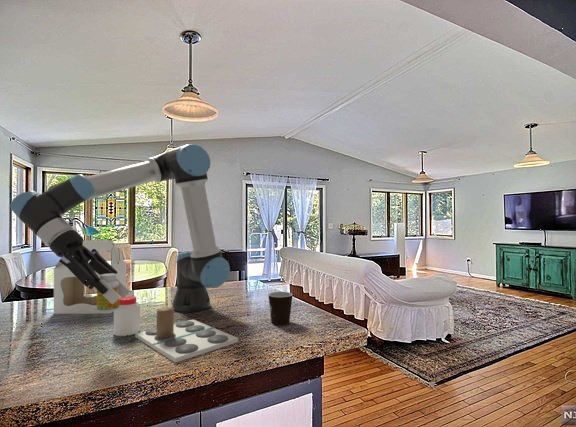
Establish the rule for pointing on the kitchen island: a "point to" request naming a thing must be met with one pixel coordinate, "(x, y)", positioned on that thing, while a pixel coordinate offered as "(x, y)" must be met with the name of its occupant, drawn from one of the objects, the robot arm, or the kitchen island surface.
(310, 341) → the kitchen island surface
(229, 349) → the kitchen island surface
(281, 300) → the coffee mug
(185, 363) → the kitchen island surface
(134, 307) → the pill bottle
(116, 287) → the supplement bottle
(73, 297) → the gable box
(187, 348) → the board
